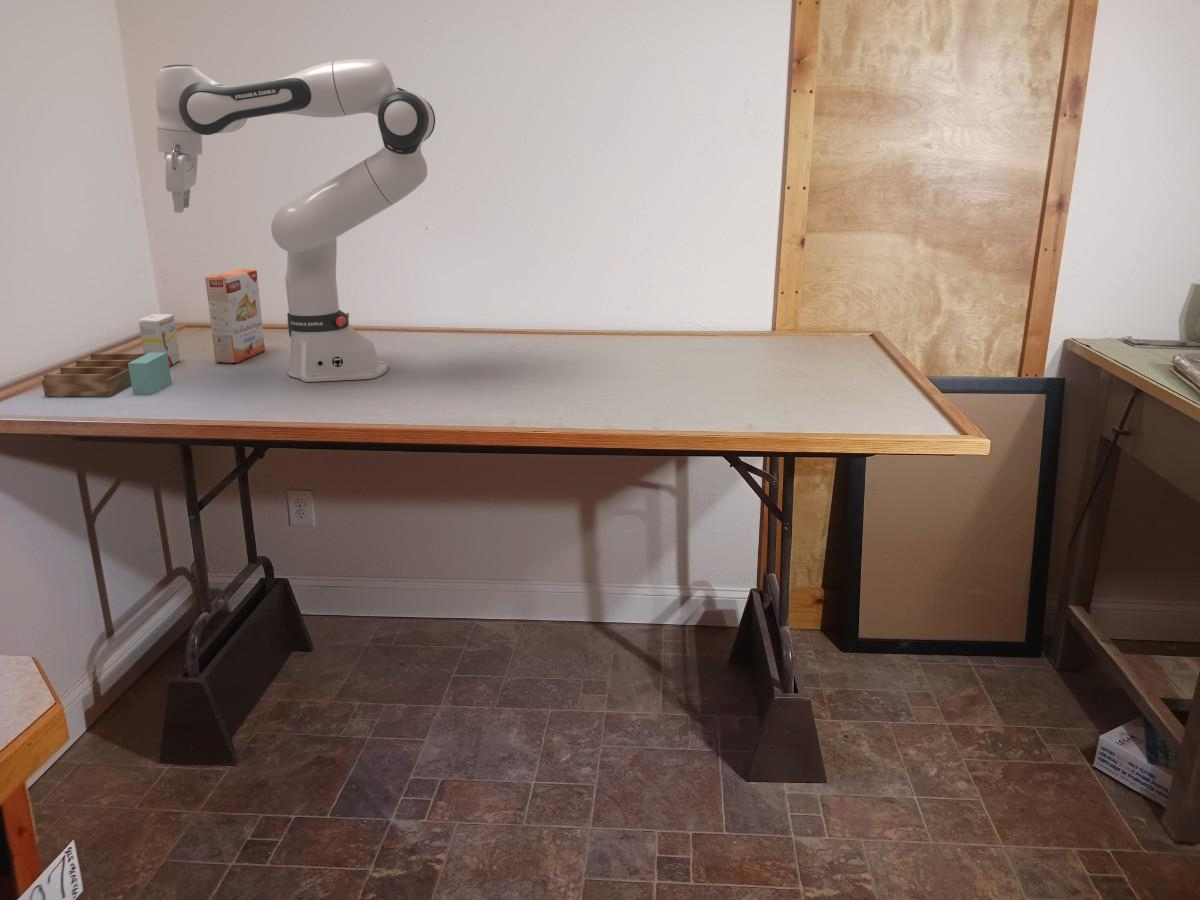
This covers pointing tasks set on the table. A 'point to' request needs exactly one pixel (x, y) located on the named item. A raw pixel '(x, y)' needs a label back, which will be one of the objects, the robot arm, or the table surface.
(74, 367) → the rack
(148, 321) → the ink box
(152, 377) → the teal block
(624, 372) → the table surface
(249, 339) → the cracker box
